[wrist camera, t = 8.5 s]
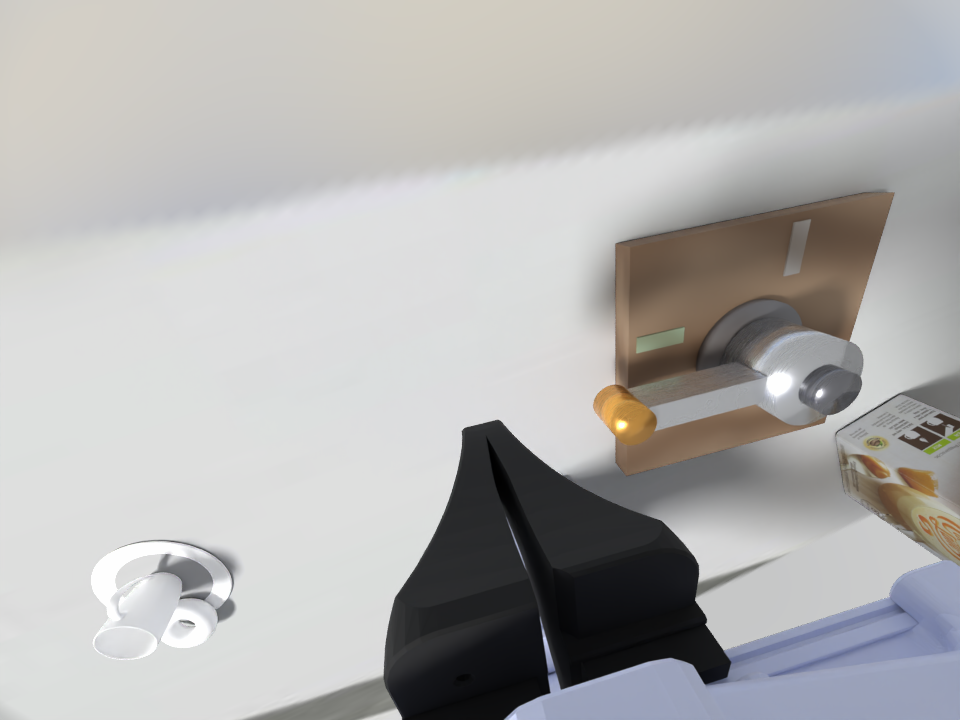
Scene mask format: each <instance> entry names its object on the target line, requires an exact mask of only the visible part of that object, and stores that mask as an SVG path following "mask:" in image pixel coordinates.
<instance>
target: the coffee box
mask: <svg viewBox="0 0 960 720" xmlns="http://www.w3.org/2000/svg"><path fill="white" fill-rule="evenodd" d="M836 442H837V448H838V455H839V461H840V467H841V473H842V479H843V485H844V491H845V494H847V495H848V496H849V497H851V498H852V499H854V500H855V501H857V502H858V503H860V504H861V505H863V506H864V507H865V508H867V509H868V510H870V511H871V512H873V513H874V514H876V515H877V516H878V517H880V518H881V519H882V520H884V521H886V522H887V523H889V524H890V525H892V526H893V527H895V528H896V529H897V530H899V531H900V532H902V533H903V534H905V535H906V536H907V537H909V538H910V539H912V540H913V541H915V542H916V543H918V544H919V545H920V546H922V547H924V548H925V549H926V550H928V551H929V552H931V553H932V554H934V555H935V556H937V557H938V558H940V559H941V560H942V561H943V560H950V561H953V562H954V563H956V564H957V565H958V566H960V418H959V417H956V416H954V415H952V414H949V413H946V412H944V411H942V410H939V409H937V408H934V407H932V406H929V405H927V404H925V403H922V402H920V401H917V400H915V399H912V398H910V397H908V396H905V395H898V396H897V397H895V398H893V399H892V400H890V401H888V402H887V403H885V404H884V405H882V406H880V407H879V408H877V409H875V410H874V411H872V412H870V413H869V414H867V415H865V416H864V417H862V418H860V419H859V420H857V421H855V422H854V423H852V424H850V425H849V426H847V427H845V428H844V429H842V430H840V431H838V432H837V434H836Z"/></svg>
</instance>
